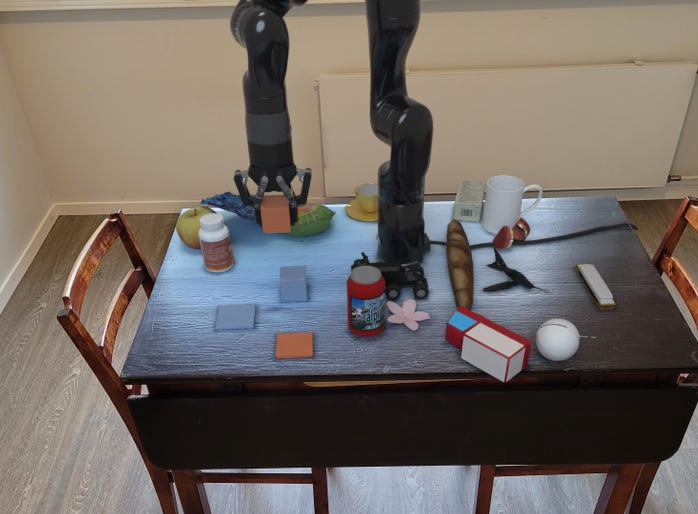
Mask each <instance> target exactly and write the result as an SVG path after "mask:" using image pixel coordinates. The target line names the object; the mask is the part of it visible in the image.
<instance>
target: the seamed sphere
mask: <svg viewBox="0 0 698 514" xmlns="http://www.w3.org/2000/svg"><path fill="white" fill-rule="evenodd" d="M581 337H583V338H587V336H585V335H580V333H579V331H578V328H577V326H576V325H575V324H573V323H572V322H571V321H569V320H567V319H565V318H551V319H548V320H546V321H545V322H544V323H542V324H541V325H540V327H539V328H538V330H537V331H536V334H535V342H534V343H535V346H536V349H537V351H538V352H539V354H540V355H541V356H542V357H544V358H545V359H547V360H549V361H553V362H561V361H566V360H568V359H570V358H571V357H573V356H574V355H575V353H576V352H577V351H578V350H579V348H580V345H581ZM592 338H594V339H596V338H597V337H595V336H592Z"/></svg>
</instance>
